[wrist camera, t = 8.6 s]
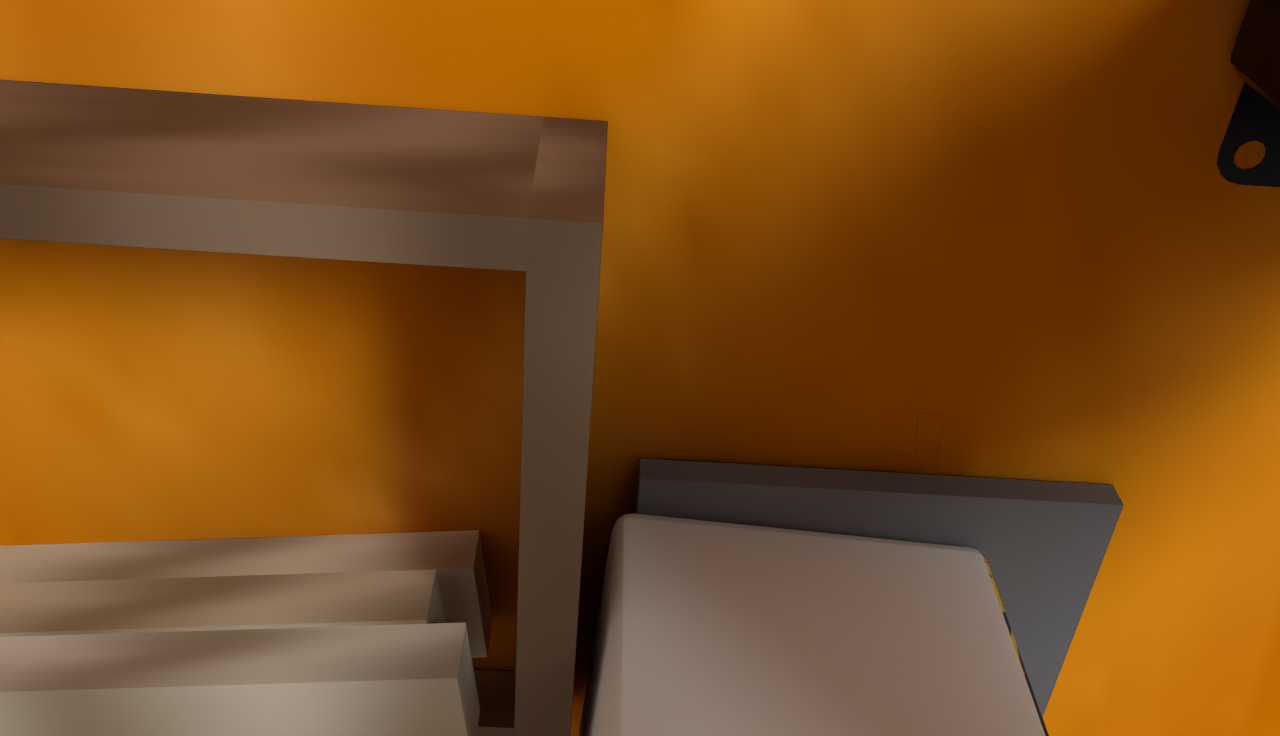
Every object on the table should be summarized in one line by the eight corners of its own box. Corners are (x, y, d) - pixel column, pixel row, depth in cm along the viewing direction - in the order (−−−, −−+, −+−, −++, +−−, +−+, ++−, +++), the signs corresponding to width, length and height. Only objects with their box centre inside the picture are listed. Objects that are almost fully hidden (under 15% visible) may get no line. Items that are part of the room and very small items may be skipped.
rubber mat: (1112, 484, 23) (1123, 505, 23) (999, 787, 28) (1006, 809, 28) (640, 458, 23) (640, 478, 22) (610, 770, 28) (610, 792, 27)
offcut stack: (480, 522, 24) (456, 673, 21) (493, 610, 25) (472, 766, 22) (-142, 542, 24) (-264, 695, 21) (-97, 628, 25) (-204, 785, 22)
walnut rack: (607, 120, 19) (602, 222, 16) (571, 699, 26) (563, 841, 23) (-455, 48, 18) (-663, 141, 15) (-188, 664, 26) (-293, 805, 23)
